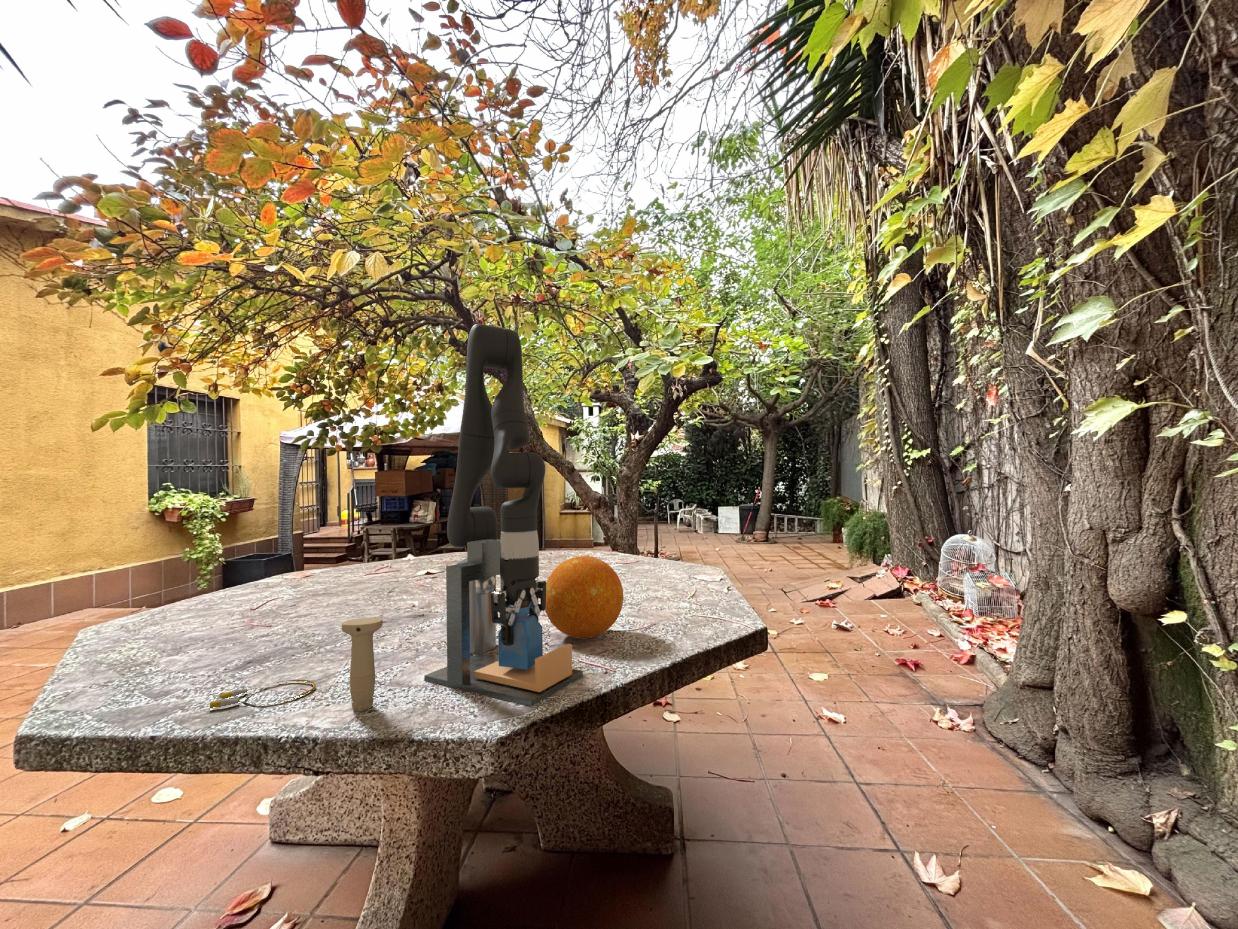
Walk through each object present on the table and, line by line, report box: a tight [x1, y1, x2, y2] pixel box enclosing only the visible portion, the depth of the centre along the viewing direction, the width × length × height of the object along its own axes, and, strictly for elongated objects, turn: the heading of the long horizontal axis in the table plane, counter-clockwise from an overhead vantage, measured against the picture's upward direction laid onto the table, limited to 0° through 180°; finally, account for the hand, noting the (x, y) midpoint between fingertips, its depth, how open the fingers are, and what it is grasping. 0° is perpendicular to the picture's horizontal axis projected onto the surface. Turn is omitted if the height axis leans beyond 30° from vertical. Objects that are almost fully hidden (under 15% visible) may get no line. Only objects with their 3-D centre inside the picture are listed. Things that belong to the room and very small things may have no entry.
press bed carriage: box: [474, 643, 573, 692], centre depth 103 cm, size 16×10×6 cm, turn 60°
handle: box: [341, 617, 383, 712], centre depth 93 cm, size 5×6×15 cm
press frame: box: [423, 538, 584, 707], centre depth 106 cm, size 27×17×27 cm, turn 60°
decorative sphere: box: [544, 555, 624, 639], centre depth 133 cm, size 20×20×20 cm
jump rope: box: [209, 679, 317, 709], centre depth 99 cm, size 12×16×2 cm
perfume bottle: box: [497, 600, 544, 669], centre depth 103 cm, size 6×6×12 cm
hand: (520, 639), depth 103 cm, fingers closed on perfume bottle, 6 cm apart
